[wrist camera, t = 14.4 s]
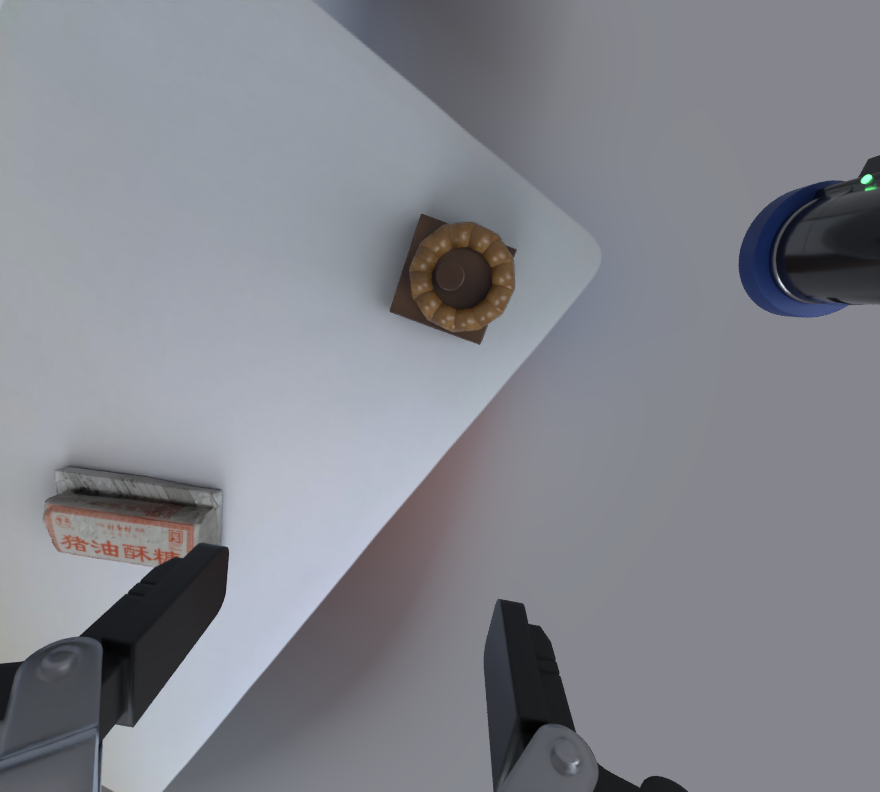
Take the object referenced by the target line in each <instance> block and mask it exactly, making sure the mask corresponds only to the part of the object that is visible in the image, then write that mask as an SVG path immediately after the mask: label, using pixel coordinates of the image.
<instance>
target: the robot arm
mask: <svg viewBox="0 0 880 792" xmlns="http://www.w3.org/2000/svg"><path fill="white" fill-rule="evenodd" d="M769 270H770V274H771V277H772V279H773V281H774V283H775V285H776V287H777V288H778V289H779V290H780V291H781V292H782V293H783V294H784V295H785V296H787V297H788V298H790V299H792V300H794V301H797V302H801V303H807V304H835V303H843V304H838V305H853V304H854V305H855V304H856V305H862V304H879V305H880V155H879V156H876V157H873V158H870V159H868V161H867V163H866V165H865V167H864V168H863V170H862V172H861V174H860V175H859V177H858V178H856V179H852V180H849V181H846V182H842V183H839V184H835V185H832V186H828V187H825V188H821V189H819V190H818V191H817V192H816V194H815V196H814V197H813V199H812V200H811V201H809V202H807V203H805V204H803V205H802V206H800V207H799V208H797V209H796V210H795V211H793V212H792V213H791V214H790V215H789V216H788V217H787V218H786V219H785V220H784V222H783V223H782V224H781V226H780V227H779V229H778V230H777V232H776V234H775V236H774V238H773V241H772V244H771V247H770V252H769ZM228 559H229V549H228V547H225V546H219V545H214V544H209V543H204V542H201V543H198V544H197V545H196V546H195V547H194V548H193V549H192V550H191V551H190V552H189V553H188V554H187V555H186V556H185V557H184V558H179V557H174V558H172V559H170V560H168V561H166V562H164V563H162V564H160V565H158V566H156V567H155V568H154V569H153V570H151V571H150V572H149V573H148V574H147V575H146V576H145V577H144V578H143V579H142V580H141V582H140V583H137V584H136V585H135V586H134V587H133V588H132V589H131V590H130V591H129V592H128V594H125V595H124V596H123V597H122V598H121V599H120V600H119V601H117V602H116V603H115V604H114V605H113V606H112V607H111V608H110V609H109V610H108V611H106V612H105V613H104V614H103V615H102V616H101V617H100V618H99V619H98V620H97V621H96V622H94V623H93V624H92V625H91V626H90V627H89V628H88V629H87V630H86V631H85V632H83V633H82V634H81V635H80V636H79V637H71V638H66V639H62V640H59V641H56V642H53V643H51V644H49V645H47V646H45V647H43V648H41V649H39V650H38V651H36V652H35V653H33V654H32V655H30V656H29V657H28V658H27V659H26V660H25V661H22V662H13V663H3V664H0V792H101V776H102V755H103V739H104V738H105V736H106V735H107V734H108V732H109V731H110V730H111V729H112V727H113V726H114V725H115V724H117V725H123V726H128V727H134V726H135V725H136V723H137V722H138V720H139V719H140V718H141V716H142V715H143V714H144V712H145V711H146V710H147V708H148V707H149V706H150V704H151V703H152V702H153V700H154V699H155V698H156V696H157V695H158V694H159V692H160V691H161V689H162V688H163V687H164V685H165V684H166V683H167V681H168V680H169V679H170V677H171V676H172V675H173V673H174V672H175V671H176V669H177V668H178V667H179V665H180V664H181V663H182V661H183V660H184V658H185V657H186V656H187V654H188V653H189V652H190V650H191V649H192V648H193V646H194V645H195V644H196V642H197V641H198V640H199V638H200V637H201V636H202V634H203V633H204V632H205V630H206V629H207V628H208V626H209V625H210V623H211V622H212V621H213V619H214V618H215V617H216V615H217V614H218V612H219V610H220V608H221V606H222V604H223V601H224V598H225V594H226V585H227V572H228ZM555 659H556V658H555V655H554V651H553V648H552V644H551V642H550V640H549V639H548V637H547V636H546V634H545V633H544V631H543V630H542V628H541V627H540V626H536V625H531V624H528V620H527V615H526V611H525V607H524V604H522V603H518V602H512V601H507V600H502V599H498V600H497V602H496V605H495V608H494V612H493V616H492V620H491V624H490V628H489V631H488V635H487V639H486V644H485V650H484V675H485V687H486V700H487V713H488V726H489V738H490V752H491V764H492V777H493V791H494V792H688V791H687V790H686V789H684V788H683V787H682V786H680V785H679V784H677V783H676V782H673V781H672V780H670V779H667V778H664V777H660V776H651V777H648V778H647V779H645V780H644V782H643V783H642V785H641V787H640V788H639V787H637V786H635V785H633V784H632V783H630V782H628V781H626V780H624V779H622V778H620V777H618V776H616V775H614V774H613V773H611V772H609V771H608V770H606V769H604V768H603V767H602V766H600V765H599V764H598V763H597V762H596V759H595V756H594V754H593V752H592V750H591V749H590V747H589V746H588V744H587V743H586V742H585V741H584V740H583V739H582V738H581V737H580V736H579V735H578V734H577V733H576V731H575V728H574V724H573V720H572V717H571V713H570V710H569V706H568V703H567V699H566V695H565V692H564V688H563V684H562V680H561V677H560V676H559V669H558V666H557V663H556V662H555Z"/></svg>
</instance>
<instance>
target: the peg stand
mask: <svg viewBox="0 0 880 792" xmlns="http://www.w3.org/2000/svg"><path fill="white" fill-rule="evenodd" d="M445 224H448V223H445V222H442V221H440V220H437V219H434V218H432V217H429V216H426V215H424V214H421V216H420V219H419V222H418V225H417V228H416V231H415V234H414V237H413V241H412V244H411V247H410V250H409V253H408V256H407V259H406V262H405V265H404V268H403V271H402V275H401V278H400V281H399V284H398V287H397V290H396V293H395V296H394V299H393V302H392V305H391V309H390V312H391V313H394V314H397V315H400V316H402V317H405V318H408V319H411V320H413V321H416V322H419V323H422V324H424V325H427V326H430V327H432V328H435V329H438V330H441V331H443V332H446V333H449V334H452V335H454V336H457V337H460V338H463V339H465V340H468V341H471V342H474V343H476V344H479V345H480V344H481V342H482V339H483V337H484V334H485V331H486V329H487V326H488V324H487V325H486V326H485V327H483V328H481V329H479V330H473V331H461V332H451V331H449V330H447V329H444V328H442V327H440V326H438V325H436V324H434V323H432V322H430V321H428V320H427V319H426V317H425V316H424V315H423V313H422V312H421V310H420V309H419V307H418V306H417V304H416V303H415V302H414V300H413V298H412V295H411V286H410V276H409V268H410V265H411V263H412V260H413V258H414V256H415V253H416V251H417V249H418V246H419V244H420V243H421V241H422V240H424V239H425V238H426V237H428V236H429V235H430V234H432V233H433V232H434V231H436V230H437V229H438V228H440V227H441V226H442V225H445ZM505 246H506V245H505ZM506 247H507V249H508V250H509V252H510V253H511V255H512V257H513V258H514V256H515V253H516V249H514V248H511V247H508V246H506ZM432 278H433V289H434V291H435V292H436V294H437V295H438V297H439V298H440V300H441V301H442V303H444V304H446V305H449V306H451V307H453V308H455V309H466V308H473V307H474V306H476V305H477V304H478V303H480V302H481V301H483V300H484V299H485V298H486V296H487V294H488V292H489V290H490V288H491V285H492V273H491V267H490V265H489V264H488V262H487V260H486V259H485V257H484V256H483V254H481V253H479V252H477V251H475V250H473V249H471V248H469V247H462V248H452V249H450V250H449V251H448V252H446V253H445V254H444V255H442V256H441V257H440V258H439V259H438V261H437V263H436V265H435V268H434V270H433V272H432Z"/></svg>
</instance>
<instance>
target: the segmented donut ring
mask: <svg viewBox="0 0 880 792" xmlns="http://www.w3.org/2000/svg"><path fill="white" fill-rule="evenodd" d="M462 247H469V248H471V249H473V250H475V251H477V252H479V253H481V254H483V256H484V257H485V259H486V260H487V262H488V264H489V265H490V267H491V273H492V285H491V288H490V290H489V292H488V294H487V296H486V298H485V299H484V300H483V301H481V302H480V303H478V304H477V305H476V306H474V307H473V308H466V309H455V308H453V307H451V306H449V305H446V304H444V303H442V301H441V300H440V298H439V297H438V295H437V294H436V292H435V291H434V289H433V278H432V272H433V270H434V268H435V265H436V263H437V261H438V259H439V258H440V257H441V256H442V255H444V254H445V253H446V252H448V251H449V250H450V249H452V248H462ZM409 276H410V286H411V295H412V298H413V300H414V302H415V303H416V304H417V306H418V307H419V309H420V310H421V312H422V313H423V315H424V316H425V317H426V319H427V320H428V321H430V322H432V323H434V324H436V325H438V326H440V327H442V328H444V329H447V330H449V331H451V332H461V331H473V330H479V329H481V328H483V327H485V326H486V325H487V324H489V323H490V322H492V321H493V320H495V319H496V318H498V317H499V316H500V315H502V313H503V312H504V310H505V308H506V306H507V304H508V302H509V300H510V298H511V296H512V294H513V292H514V290H515V269H514V259H513V257H512V255H511V253H510V252H509V250H508V249H507V247H506V246H505V244H504V242H503V241H502V239H501V238H500V236H499V235H498V234H496V233H495V232H493V231H491V230H489V229H487V228H485V227H483V226H481V225H479V224H477V223H474V222H463V223H452V224H445V225H442V226H441V227H440V228H438V229H437V230H436V231H434V232H433V233H432V234H430V235H429V236H428V237H426V238H425V239H424V240H422V241H421V243H420V244H419V246H418V249H417V251H416V253H415V256H414V258H413V260H412V263H411V265H410V268H409Z"/></svg>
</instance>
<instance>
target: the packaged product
mask: <svg viewBox="0 0 880 792" xmlns="http://www.w3.org/2000/svg"><path fill="white" fill-rule="evenodd" d="M55 480H56V486H57V495H56V496H53V497H50V498H48V499H47V500H46V501H45V502H46V504H45V511H44V516H43V522H44V525H45V527H46V528H47V529H48V532H49V535H50V537H51V538H52V543H53V545H54V546H55V548H56V549H57V550H58V551H59V552H63V553H69V554H74V555H80V556H86V557H92V558H98V559H106V560H112V561H119V562H125V563H131V564H137V565H144V566H150V567H156V566H158V565H160V564H162V563H164V562H166V561H168V560H170V559H172V558H174V557H179V558H184V557H185V556H186V555H187V554H188V553H189V552H190V551H191V550H192V549H193V548H194V547H195V546H196V545H197V544H198V543H201V542H204V543H209V544H214V545H219V546H221V531H222V491H220V490H213V489H206V488H199V487H194V486H189V485H184V484H179V483H174V482H169V481H164V480H160V479H155V478H150V477H145V476H136V475H127V474H118V473H111V472H103V471H96V470H88V469H81V468H73V467H65V468H61V469H57V470H55Z"/></svg>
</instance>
